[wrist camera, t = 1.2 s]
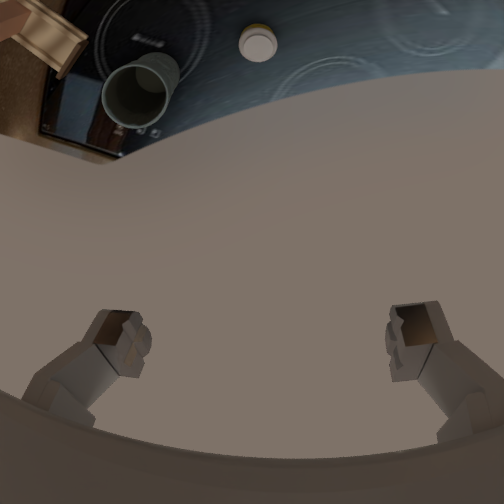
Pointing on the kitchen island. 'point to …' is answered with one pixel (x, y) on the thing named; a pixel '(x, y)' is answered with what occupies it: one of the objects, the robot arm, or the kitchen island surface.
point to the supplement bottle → (257, 43)
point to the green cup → (141, 90)
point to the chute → (51, 37)
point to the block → (12, 18)
